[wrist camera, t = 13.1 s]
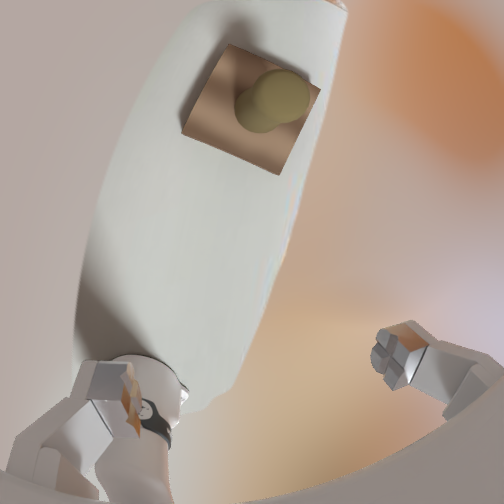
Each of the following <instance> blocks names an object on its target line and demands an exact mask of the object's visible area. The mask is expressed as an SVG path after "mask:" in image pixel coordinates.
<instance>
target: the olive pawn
mask: <svg viewBox="0 0 504 504" xmlns="http://www.w3.org/2000/svg"><path fill="white" fill-rule="evenodd" d="M309 103H310V90H309V88H308V86H307V84H306V82H305V81H304V80H303V79H302V77H301V76H299V75H298V74H296V73H295V72H293V71H290V70H287V69H273V70H270V71H267V72H265V73H263V74H262V75H261V76H259V77H258V79H257V80H256V82H255V83H254V84H253V87H251V88H249V89H247V90H245V91H244V92H243V93H241V94H240V95H239V97H238V99H237V100H236V103H235V107H234V110H235V116H236V118H237V121H238V123H239V124H240V125H241V126H242V127H243V128H245V129H246V130H248V131H250V132H253V133H258V134H259V133H267V132H269V131H272V130H274V129H275V128H276V127H277V126H278V125H279V124H281V123H289V122H292V121H294V120H297V119H298V118H300V117H301V116H302V115H303V114H304V113H305V111H306V110H307V108H308V106H309Z"/></svg>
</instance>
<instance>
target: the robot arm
mask: <svg viewBox="0 0 504 504" xmlns="http://www.w3.org/2000/svg"><path fill="white" fill-rule="evenodd" d="M376 341H377V344H376V345H375V346H374V347H373V348H372V352H371V355H370V356H371V363H372V366H373V368H374V369H375V370H376V372H378V373H381V374H383V380H384V381H385V382H386V384H387V385H388V386H389V387H390V388H391V390H392V391H394V390H397V389H399V388H402V387H404V386H407V385H409V384H410V386H412V387H414V388H416V389H418V390H420V391H422V392H424V393H426V394H428V395H429V396H431V397H433V398H435V399H437V400H439V401H441V402H443V403H445V404H447V407H446V408H445V410H444V411H443V414H442V416H443V417H444V418H445V419H446V420H447V422H446V423H444V424H443V425H441V426H440V427H438V428H437V429H435V430H434V431H432V432H431V433H429V434H427V435H426V436H424V437H423V438H421V439H419V440H418V441H416V442H414V443H413V444H411V445H409V446H407V447H405V448H404V449H402V450H400V451H398V452H396V453H394V454H392V455H390V456H388V457H386V458H384V459H383V460H380V461H378V462H376V463H374V464H372V465H369V466H367V467H365V468H363V469H360V470H358V471H355V472H353V473H351V474H348V475H345V476H343V477H340V478H337V479H335V480H332V481H329V482H326V483H323V484H320V485H317V486H314V487H310V488H307V489H303V490H300V491H296V492H292V493H288V494H284V495H280V496H275V497H271V498H266V499H260V500H255V501H249V502H242V503H235V504H504V368H503V367H502V366H501V365H500V364H499V363H498V362H496V361H495V360H494V359H493V358H492V357H490V356H489V355H488V354H485V353H482V352H478V351H475V350H472V349H468V348H465V347H462V346H458V345H455V344H452V343H448V342H445V341H438V340H437V339H436V338H435V337H433V336H432V335H431V334H430V333H428V332H427V331H426V330H425V329H424V328H423V327H421V326H420V325H419V324H418V323H416V322H415V321H413V320H409V321H406V322H403V323H400V324H397V325H393V326H390V327H386V328H382V329H380V330H379V332H378V333H377V337H376ZM188 397H189V391H188V390H187V389H186V388H185V387H184V386H182V385H181V384H180V383H179V381H178V379H177V377H176V375H175V374H174V372H173V371H172V370H171V369H170V368H168V367H167V366H166V365H164V364H163V363H161V362H159V361H157V360H155V359H152V358H149V357H145V356H140V355H124V356H120V357H117V358H115V359H113V360H111V361H93V360H85V361H83V362H82V364H81V367H80V369H79V372H78V375H77V377H76V380H75V383H74V386H73V389H72V392H71V395H70V398H67V397H65V398H64V399H63V400H61V401H60V402H59V403H58V404H56V405H55V406H54V407H53V408H51V409H50V410H49V411H48V412H46V413H45V414H44V415H43V416H41V417H40V418H39V419H38V420H36V421H35V422H34V423H33V424H31V425H30V426H29V427H27V428H26V429H25V430H24V431H22V432H21V433H20V434H19V435H17V436H16V438H15V441H14V444H13V447H12V450H11V454H10V458H9V461H8V464H7V468H6V472H4V471H2V470H0V504H174V501H173V498H172V495H171V490H170V483H169V463H168V450H169V449H170V447H171V441H172V434H171V430H172V428H173V427H175V426H176V425H177V424H178V423H179V421H180V408H181V404H182V403H183V402H184V401H185V400H186V399H187V398H188ZM94 464H95V473H96V476H97V478H98V481H99V482H100V484H101V485H102V487H103V488H104V490H105V492H106V494H107V496H108V498H109V501H110V502H103V501H99V490H98V489H97V488H96V487H95V486H94V485H93V484H92V483H91V482H90V481H88V480H87V479H86V478H85V475H86V474H87V473H88V472H89V470H90V469H91V468H92V466H93V465H94Z"/></svg>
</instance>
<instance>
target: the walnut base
mask: <svg viewBox="0 0 504 504" xmlns="http://www.w3.org/2000/svg"><path fill="white" fill-rule="evenodd" d="M273 69H283V68H281V67H280V66H278V65H276V64H274V63H271V62H269V61H267V60H265V59H263V58H261V57H259V56H257V55H254V54H252V53H250V52H248V51H245V50H243V49H241V48H238V47H236V46H233V45H231V44H229V45H228V46H227V48H226V49H225V51H224V53H223V54H222V56H221V58H220V59H219V61H218V63H217V65H216V66H215V68H214V70H213V72H212V73H211V75H210V77H209V79H208V81H207V82H206V84H205V86H204V88H203V90H202V92H201V94H200V96H199V98H198V100H197V101H196V103H195V105H194V107H193V109H192V111H191V113H190V116H189V118H188V120H187V122H186V124H185V126H184V128H183V130H182V132H181V133H182V134H183V135H185V136H188V137H190V138H193V139H195V140H198V141H200V142H203V143H205V144H208V145H210V146H212V147H215V148H217V149H220V150H222V151H224V152H227V153H229V154H231V155H234V156H236V157H238V158H240V159H243V160H245V161H247V162H249V163H251V164H254V165H256V166H258V167H260V168H262V169H264V170H267V171H269V172H271V173H273V174H276V175H280V173H281V171H282V169H283V167H284V165H285V163H286V160H287V158H288V156H289V154H290V152H291V150H292V148H293V146H294V144H295V142H296V140H297V138H298V136H299V134H300V131H301V129H302V127H303V125H304V123H305V121H306V119H307V117H308V115H309V113H310V111H311V109H312V107H313V105H314V103H315V101H316V99H317V97H318V95H319V92H320V90H321V89H319V88H318V87H316V86H314V85H312V84H311V83H309V82H307V81H306V80H304V79H303V80H304V81H305V82H306V84H307V86H308V88H309V90H310V103H309V106H308V108H307V110H306V111H305V113H304V114H303V115H302V116H301V117H300V118H298V119H297V120H294V121H292V122H289V123H281V124H279V125H278V126H277V127H276V128H275V129H274V130H272V131H269V132H267V133H259V134H258V133H253V132H250V131H248V130H246V129H245V128H243V127H242V126H241V125H240V124H239V123H238V121H237V118H236V116H235V110H234V107H235V103H236V100H237V99H238V97H239V95H240V94H241V93H243V92H244V91H245V90H247V89H249V88H251V87H253V84H254V83H255V82H256V80H257V79H258V77H259V76H261V75H262V74H263V73H265V72H267V71H270V70H273Z"/></svg>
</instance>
